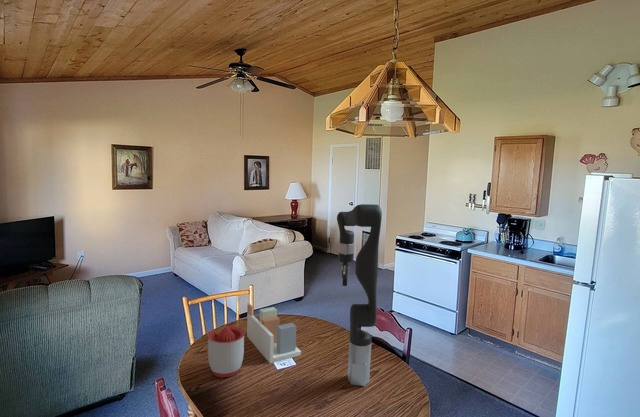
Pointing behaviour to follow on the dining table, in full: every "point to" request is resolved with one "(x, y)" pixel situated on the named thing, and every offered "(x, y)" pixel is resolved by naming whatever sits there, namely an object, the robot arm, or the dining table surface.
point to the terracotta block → (271, 325)
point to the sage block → (267, 312)
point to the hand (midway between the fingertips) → (344, 285)
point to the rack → (265, 339)
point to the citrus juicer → (226, 351)
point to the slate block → (286, 338)
